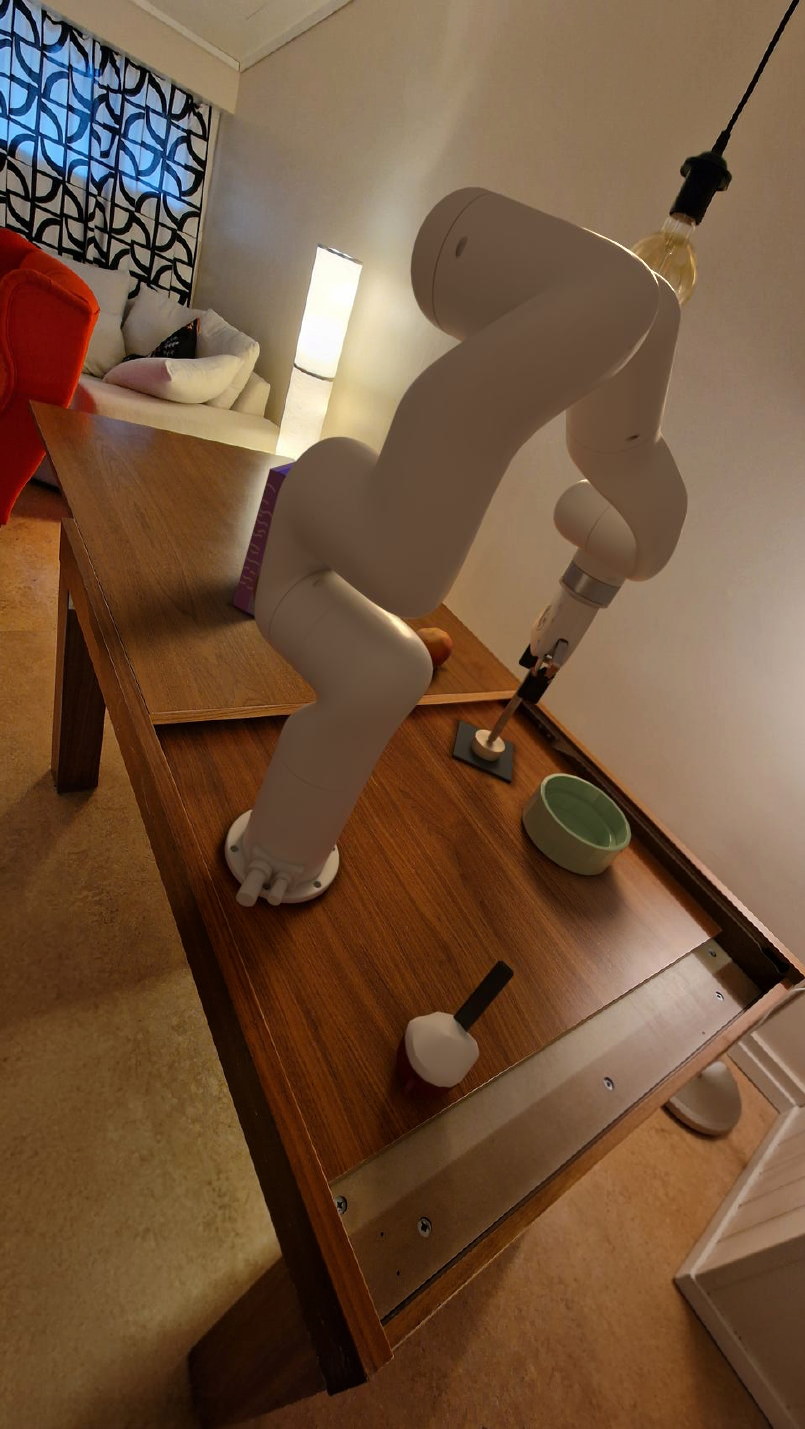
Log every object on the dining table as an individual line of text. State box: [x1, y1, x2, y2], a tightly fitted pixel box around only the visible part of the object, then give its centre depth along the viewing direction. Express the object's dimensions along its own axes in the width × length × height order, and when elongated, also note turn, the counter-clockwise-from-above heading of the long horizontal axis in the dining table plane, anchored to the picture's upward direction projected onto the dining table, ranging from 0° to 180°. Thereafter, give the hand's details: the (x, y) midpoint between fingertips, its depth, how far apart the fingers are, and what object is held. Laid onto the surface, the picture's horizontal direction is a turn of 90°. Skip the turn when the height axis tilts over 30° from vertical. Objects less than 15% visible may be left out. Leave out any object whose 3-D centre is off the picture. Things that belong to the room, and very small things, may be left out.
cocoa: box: [396, 960, 515, 1099], centre depth 54 cm, size 10×6×12 cm, turn 118°
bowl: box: [521, 773, 632, 876], centre depth 90 cm, size 14×14×6 cm
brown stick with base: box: [470, 667, 535, 761], centre depth 96 cm, size 5×5×17 cm
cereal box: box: [232, 461, 296, 618], centre depth 105 cm, size 17×5×24 cm, turn 161°
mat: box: [452, 719, 514, 783], centre depth 100 cm, size 10×10×1 cm
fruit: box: [414, 627, 453, 670], centre depth 114 cm, size 8×8×8 cm
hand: (526, 682), depth 93 cm, fingers open, 9 cm apart
